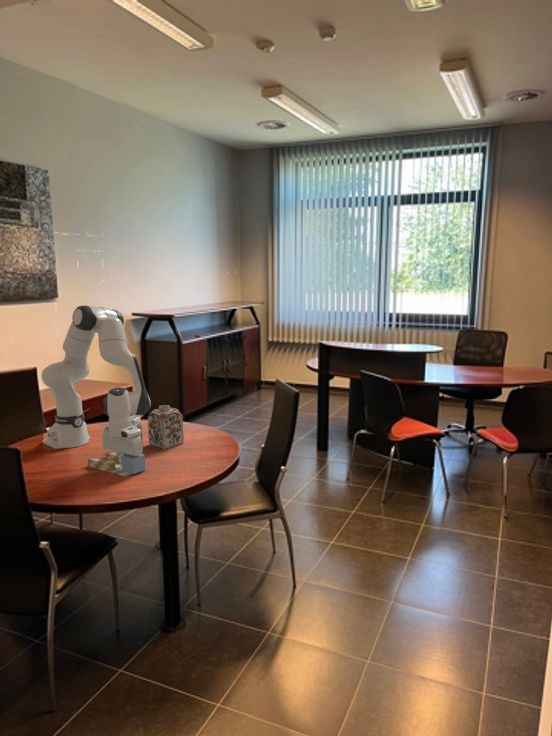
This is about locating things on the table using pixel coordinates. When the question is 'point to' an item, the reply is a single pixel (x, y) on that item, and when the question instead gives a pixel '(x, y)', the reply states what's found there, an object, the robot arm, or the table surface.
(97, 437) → the table surface
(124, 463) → the slate block
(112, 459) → the chute
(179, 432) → the decorative jar
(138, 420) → the syrup box
